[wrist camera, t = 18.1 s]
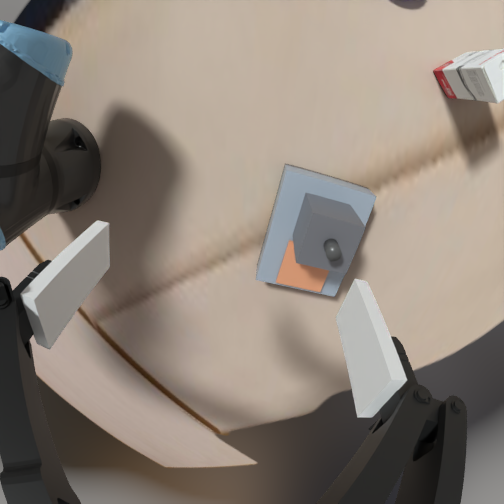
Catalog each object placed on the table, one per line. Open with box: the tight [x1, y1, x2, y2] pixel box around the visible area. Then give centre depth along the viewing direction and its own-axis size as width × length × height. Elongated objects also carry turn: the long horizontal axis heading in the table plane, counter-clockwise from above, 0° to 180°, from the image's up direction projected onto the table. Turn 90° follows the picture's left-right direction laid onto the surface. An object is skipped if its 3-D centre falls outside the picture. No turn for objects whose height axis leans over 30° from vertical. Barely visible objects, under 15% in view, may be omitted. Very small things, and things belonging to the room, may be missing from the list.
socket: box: [256, 164, 376, 297], centre depth 40 cm, size 12×16×4 cm
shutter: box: [276, 240, 329, 292], centre depth 38 cm, size 7×7×3 cm
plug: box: [292, 193, 366, 274], centre depth 34 cm, size 6×6×12 cm
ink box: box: [433, 49, 504, 103], centre depth 23 cm, size 9×5×12 cm, turn 128°
